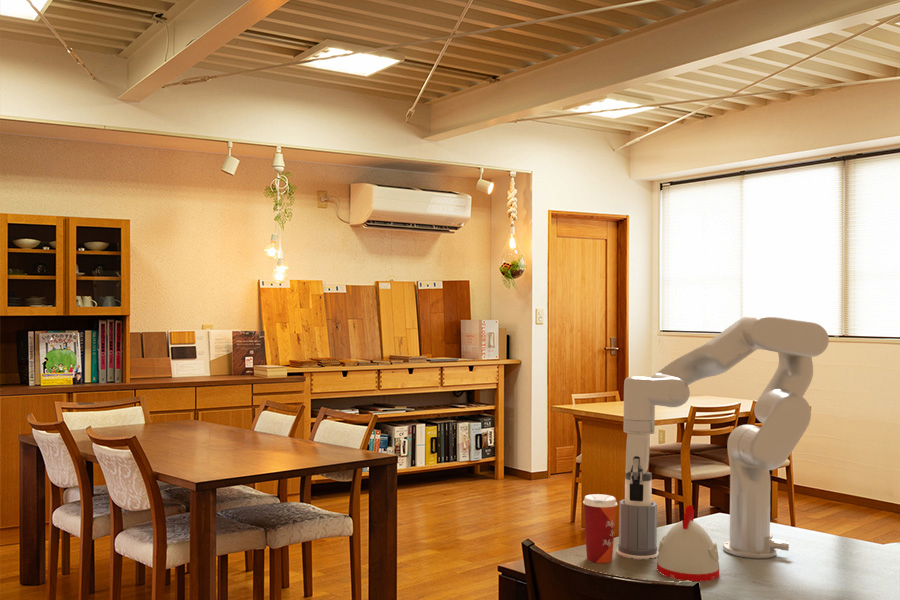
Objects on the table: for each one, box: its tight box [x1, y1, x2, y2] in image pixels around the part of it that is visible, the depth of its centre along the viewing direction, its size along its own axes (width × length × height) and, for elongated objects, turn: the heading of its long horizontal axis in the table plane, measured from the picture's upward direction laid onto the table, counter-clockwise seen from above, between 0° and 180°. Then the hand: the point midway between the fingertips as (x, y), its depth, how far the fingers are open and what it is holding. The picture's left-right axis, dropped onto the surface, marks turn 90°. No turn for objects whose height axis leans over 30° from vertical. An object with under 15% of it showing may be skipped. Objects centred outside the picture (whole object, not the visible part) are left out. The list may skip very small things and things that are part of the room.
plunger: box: [624, 471, 653, 506], centre depth 206 cm, size 6×6×17 cm
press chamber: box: [616, 498, 659, 560], centre depth 206 cm, size 10×10×12 cm
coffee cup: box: [582, 493, 618, 564], centre depth 201 cm, size 8×8×15 cm
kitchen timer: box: [656, 504, 720, 582], centre depth 193 cm, size 14×14×15 cm
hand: (638, 496), depth 206 cm, fingers open, 8 cm apart
